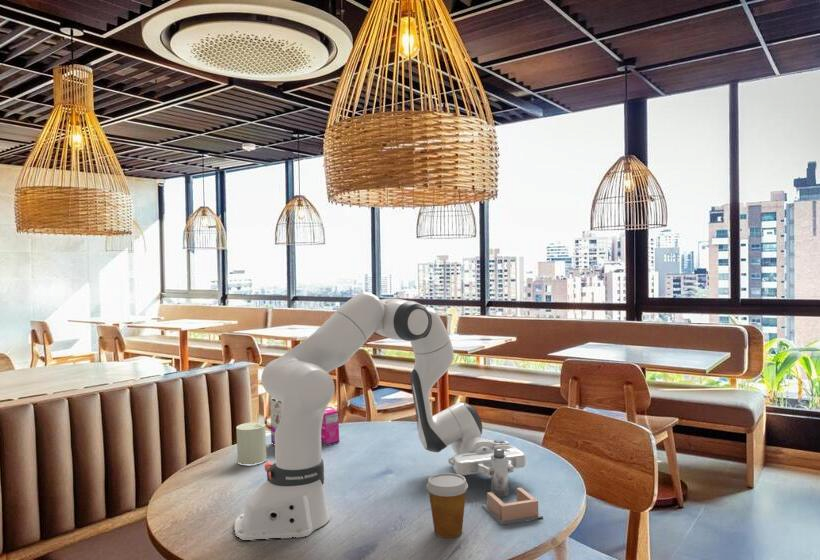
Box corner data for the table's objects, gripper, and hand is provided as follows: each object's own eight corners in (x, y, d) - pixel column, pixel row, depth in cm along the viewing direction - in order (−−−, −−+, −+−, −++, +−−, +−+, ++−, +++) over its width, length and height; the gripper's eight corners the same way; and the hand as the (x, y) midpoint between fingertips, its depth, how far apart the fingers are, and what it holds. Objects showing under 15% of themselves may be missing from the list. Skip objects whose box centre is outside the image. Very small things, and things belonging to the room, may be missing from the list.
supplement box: (316, 442, 200) (315, 410, 199) (331, 439, 204) (330, 407, 203) (325, 446, 195) (324, 413, 195) (340, 442, 199) (339, 410, 199)
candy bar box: (298, 447, 195) (297, 400, 194) (285, 451, 191) (284, 402, 191) (283, 440, 203) (282, 395, 203) (270, 443, 200) (269, 397, 200)
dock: (500, 525, 132) (500, 508, 132) (482, 506, 143) (481, 490, 143) (543, 518, 135) (542, 501, 135) (521, 500, 146) (521, 485, 146)
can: (259, 466, 176) (258, 428, 176) (231, 466, 178) (230, 428, 178) (271, 457, 186) (270, 420, 185) (245, 456, 187) (243, 420, 187)
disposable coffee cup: (466, 521, 135) (464, 471, 134) (471, 540, 125) (470, 486, 125) (426, 523, 134) (424, 472, 134) (428, 542, 125) (427, 488, 125)
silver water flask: (495, 498, 147) (494, 453, 147) (488, 492, 152) (487, 447, 151) (511, 496, 148) (510, 451, 148) (504, 490, 153) (502, 445, 153)
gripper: (445, 448, 159) (463, 463, 146) (511, 440, 165) (534, 454, 152) (446, 470, 160) (464, 488, 146) (512, 461, 165) (535, 478, 152)
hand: (500, 471), depth 149 cm, fingers closed on silver water flask, 4 cm apart
